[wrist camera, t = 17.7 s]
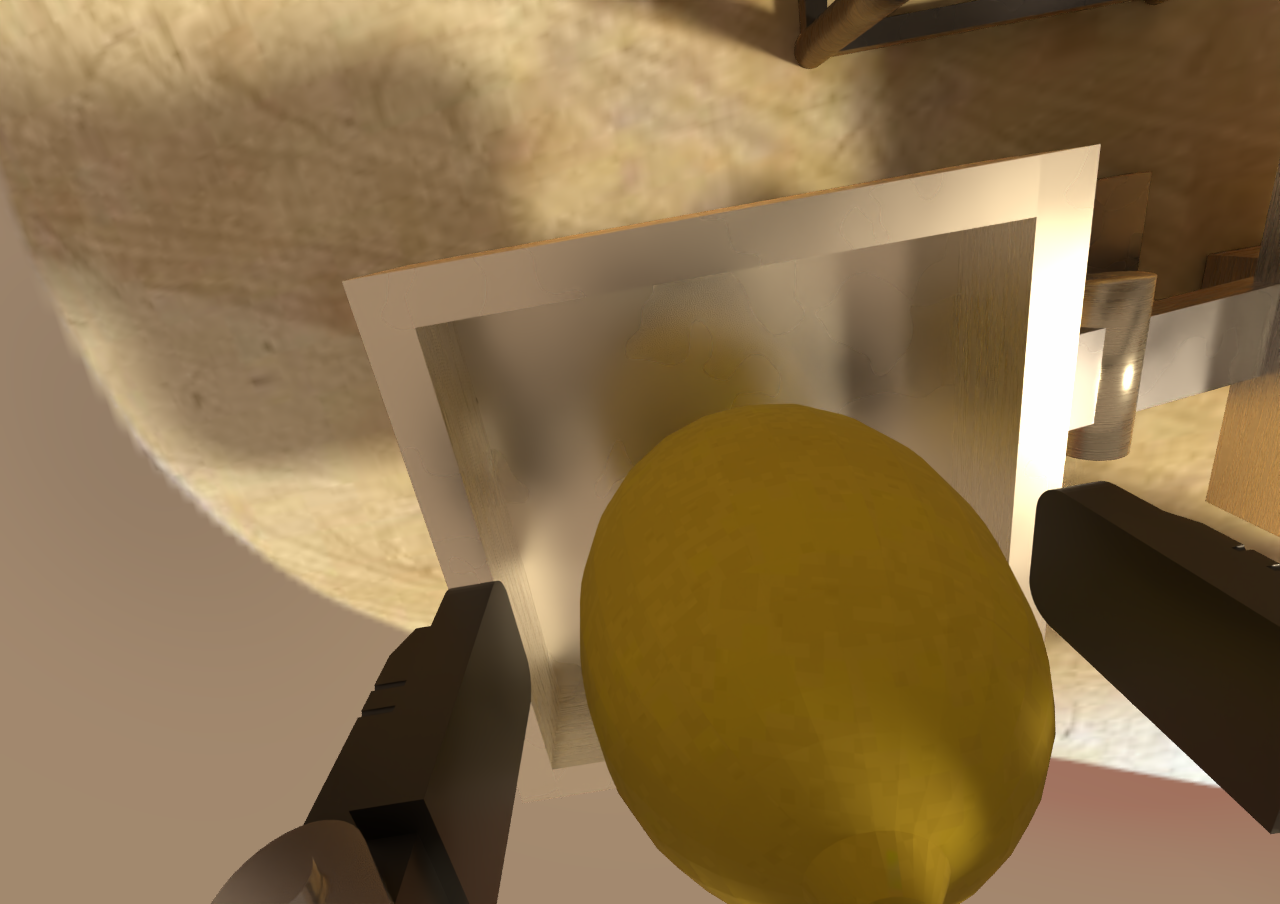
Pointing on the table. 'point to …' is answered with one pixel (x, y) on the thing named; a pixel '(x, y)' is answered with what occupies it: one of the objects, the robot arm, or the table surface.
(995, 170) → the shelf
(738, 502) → the lemon
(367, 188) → the table surface
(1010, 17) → the small metal side table
